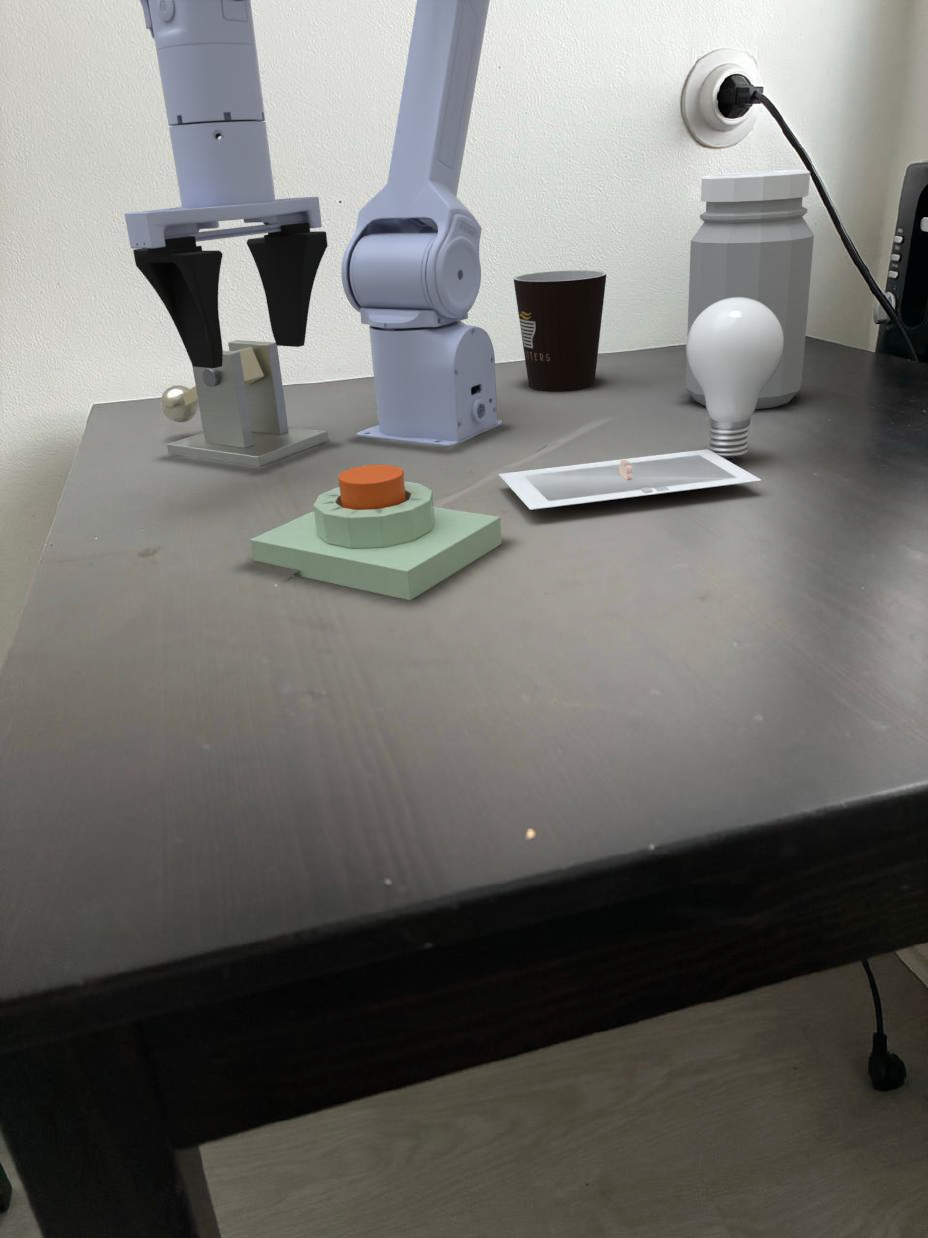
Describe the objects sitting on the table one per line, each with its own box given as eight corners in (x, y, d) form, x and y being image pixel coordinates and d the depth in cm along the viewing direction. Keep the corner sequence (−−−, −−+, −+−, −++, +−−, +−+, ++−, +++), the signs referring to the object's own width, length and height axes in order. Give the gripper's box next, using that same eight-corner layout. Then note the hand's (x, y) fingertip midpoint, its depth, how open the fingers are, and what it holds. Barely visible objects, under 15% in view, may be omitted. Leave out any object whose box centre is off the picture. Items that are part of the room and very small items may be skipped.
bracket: (168, 458, 79) (149, 352, 76) (240, 434, 85) (225, 335, 82) (260, 472, 74) (243, 359, 71) (329, 445, 80) (317, 340, 77)
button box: (501, 544, 57) (499, 486, 56) (410, 601, 51) (404, 537, 49) (354, 519, 63) (348, 465, 62) (254, 567, 56) (244, 508, 55)
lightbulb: (780, 451, 72) (793, 291, 67) (766, 475, 66) (780, 303, 62) (692, 446, 74) (699, 291, 70) (672, 469, 69) (678, 303, 64)
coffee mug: (611, 390, 93) (611, 277, 88) (518, 395, 93) (514, 283, 89) (597, 367, 103) (597, 265, 99) (514, 371, 103) (511, 270, 99)
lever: (163, 430, 82) (147, 396, 82) (190, 422, 85) (175, 388, 84) (242, 386, 75) (225, 348, 75) (269, 378, 78) (253, 341, 77)
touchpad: (498, 489, 67) (497, 458, 66) (707, 464, 69) (708, 433, 69) (530, 526, 60) (529, 492, 59) (760, 497, 62) (763, 463, 62)
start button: (418, 498, 56) (416, 468, 55) (379, 517, 53) (376, 486, 53) (368, 490, 58) (365, 461, 57) (328, 509, 55) (324, 478, 55)
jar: (663, 396, 89) (668, 177, 82) (752, 382, 92) (765, 169, 85) (730, 417, 81) (744, 175, 73) (826, 400, 84) (848, 167, 77)
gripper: (255, 128, 67) (282, 334, 73) (73, 130, 56) (121, 372, 62) (335, 120, 63) (356, 338, 69) (156, 121, 53) (199, 380, 58)
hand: (250, 355), depth 65 cm, fingers open, 7 cm apart
